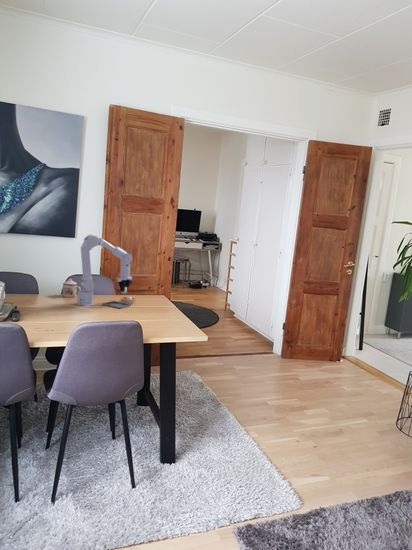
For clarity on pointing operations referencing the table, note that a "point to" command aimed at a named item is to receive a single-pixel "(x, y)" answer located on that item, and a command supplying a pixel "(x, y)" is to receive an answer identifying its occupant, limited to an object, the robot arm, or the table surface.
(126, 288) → the stone pebble near
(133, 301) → the bowl
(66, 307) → the table surface
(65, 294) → the teacup with lid
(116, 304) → the parts tray
